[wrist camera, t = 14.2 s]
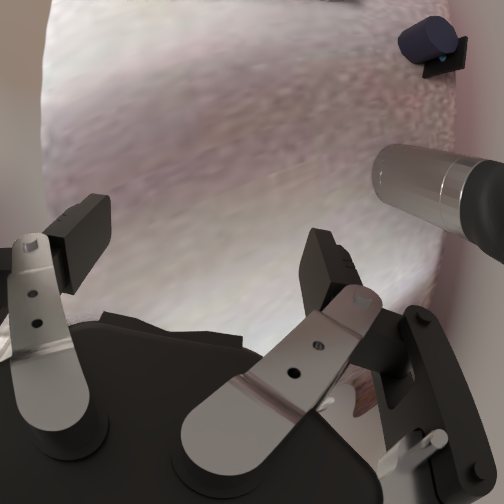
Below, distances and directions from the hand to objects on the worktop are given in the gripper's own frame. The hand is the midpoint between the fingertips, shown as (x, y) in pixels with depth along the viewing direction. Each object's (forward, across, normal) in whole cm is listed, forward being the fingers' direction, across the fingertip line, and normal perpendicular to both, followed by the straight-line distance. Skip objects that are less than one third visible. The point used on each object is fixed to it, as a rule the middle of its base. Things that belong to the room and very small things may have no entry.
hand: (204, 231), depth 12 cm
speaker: (+36, -22, -17) cm, 45 cm away
